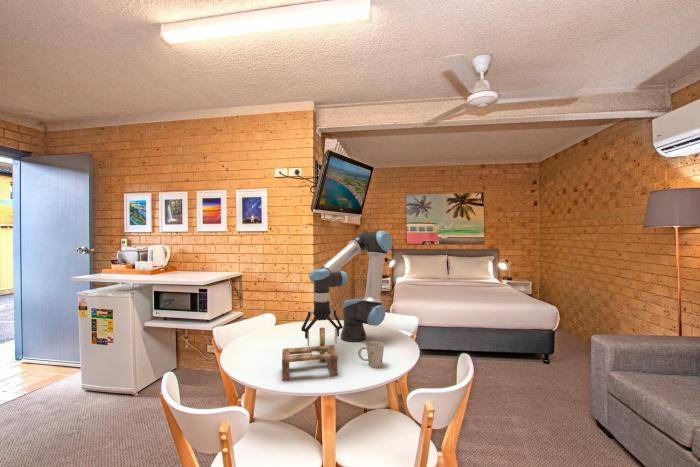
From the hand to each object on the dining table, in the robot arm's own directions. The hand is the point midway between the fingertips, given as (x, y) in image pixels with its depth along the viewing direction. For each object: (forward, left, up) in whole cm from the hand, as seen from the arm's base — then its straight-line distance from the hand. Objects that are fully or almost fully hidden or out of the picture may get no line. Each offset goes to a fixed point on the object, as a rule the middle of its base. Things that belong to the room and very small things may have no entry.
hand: (322, 344), depth 159 cm
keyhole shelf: (+7, +12, -8) cm, 16 cm away
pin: (0, 0, -8) cm, 8 cm away
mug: (-22, +10, -8) cm, 26 cm away
